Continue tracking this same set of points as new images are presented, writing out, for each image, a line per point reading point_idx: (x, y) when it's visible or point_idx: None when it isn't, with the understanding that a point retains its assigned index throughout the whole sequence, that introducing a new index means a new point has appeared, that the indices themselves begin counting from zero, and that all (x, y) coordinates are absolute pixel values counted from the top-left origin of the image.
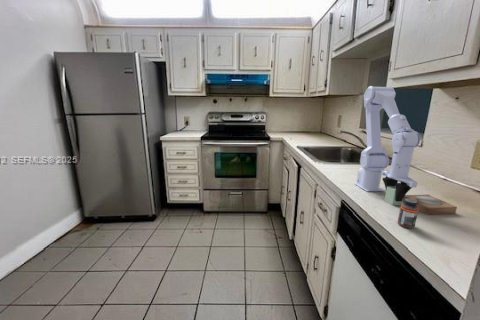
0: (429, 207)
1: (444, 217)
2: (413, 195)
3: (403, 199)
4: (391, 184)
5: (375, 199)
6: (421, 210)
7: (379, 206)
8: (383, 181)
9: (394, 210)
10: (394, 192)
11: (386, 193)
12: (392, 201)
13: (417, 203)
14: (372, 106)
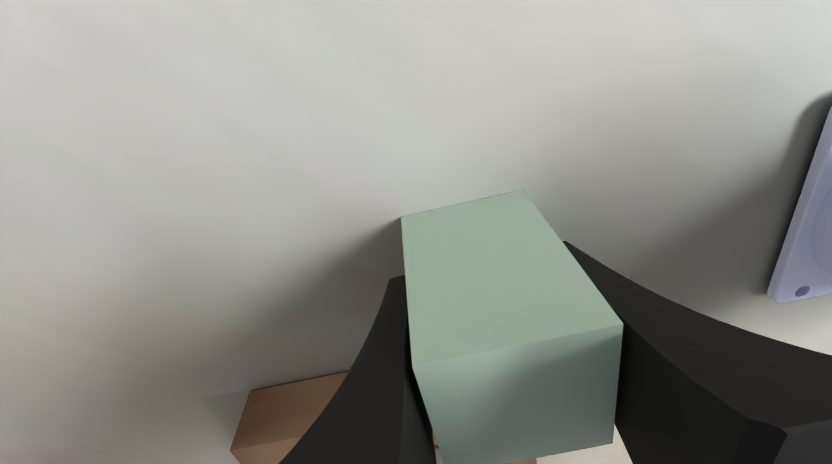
0: (246, 458)
1: None
2: None
3: None
4: (644, 414)
5: (563, 90)
6: (300, 389)
7: (318, 26)
8: (799, 348)
9: (242, 173)
10: (412, 330)
11: (548, 245)
12: (408, 238)
13: None
14: None
